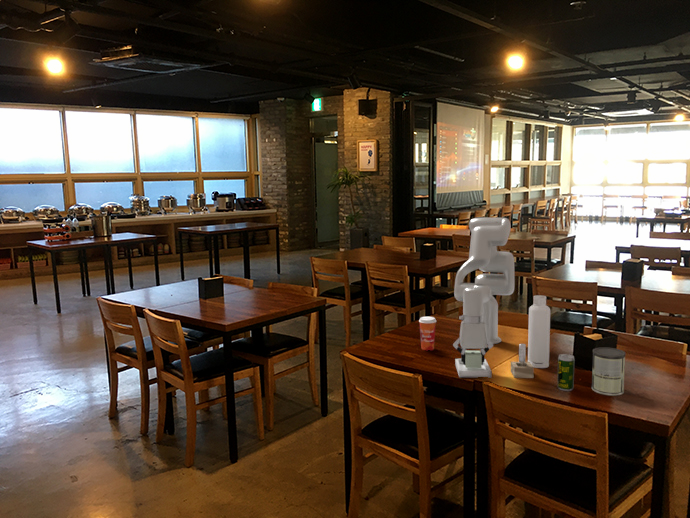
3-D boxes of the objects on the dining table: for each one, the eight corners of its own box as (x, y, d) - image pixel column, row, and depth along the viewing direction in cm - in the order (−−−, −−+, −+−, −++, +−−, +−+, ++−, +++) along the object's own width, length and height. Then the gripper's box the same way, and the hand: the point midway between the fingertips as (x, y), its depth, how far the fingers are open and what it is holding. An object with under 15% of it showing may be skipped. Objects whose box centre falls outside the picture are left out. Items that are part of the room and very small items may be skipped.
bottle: (523, 363, 223) (524, 295, 219) (538, 360, 226) (540, 293, 222) (537, 369, 215) (539, 299, 212) (553, 366, 218) (555, 297, 215)
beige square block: (510, 371, 213) (510, 361, 213) (529, 371, 213) (529, 361, 212) (514, 377, 207) (514, 367, 206) (533, 378, 206) (533, 367, 205)
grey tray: (455, 364, 223) (455, 358, 223) (485, 364, 222) (485, 358, 222) (459, 377, 209) (459, 370, 208) (491, 377, 207) (491, 371, 207)
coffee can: (586, 385, 197) (587, 347, 195) (614, 384, 198) (615, 346, 196) (600, 396, 187) (601, 356, 185) (629, 395, 187) (631, 355, 185)
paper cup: (417, 350, 244) (416, 319, 242) (421, 345, 251) (421, 315, 249) (434, 352, 241) (434, 320, 239) (438, 347, 248) (438, 316, 246)
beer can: (560, 384, 198) (561, 352, 197) (575, 388, 195) (576, 355, 193) (554, 389, 194) (555, 356, 193) (570, 392, 191) (571, 359, 189)
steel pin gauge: (517, 373, 211) (518, 343, 209) (524, 373, 211) (524, 343, 209) (519, 375, 209) (519, 345, 207) (525, 375, 208) (526, 345, 207)
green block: (464, 362, 218) (464, 350, 218) (479, 362, 218) (479, 350, 217) (465, 367, 212) (465, 354, 212) (481, 367, 212) (481, 355, 211)
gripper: (451, 321, 210) (451, 366, 212) (497, 321, 208) (496, 367, 211) (449, 316, 217) (449, 360, 220) (494, 316, 216) (493, 360, 218)
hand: (472, 363), depth 215 cm, fingers closed on green block, 6 cm apart
